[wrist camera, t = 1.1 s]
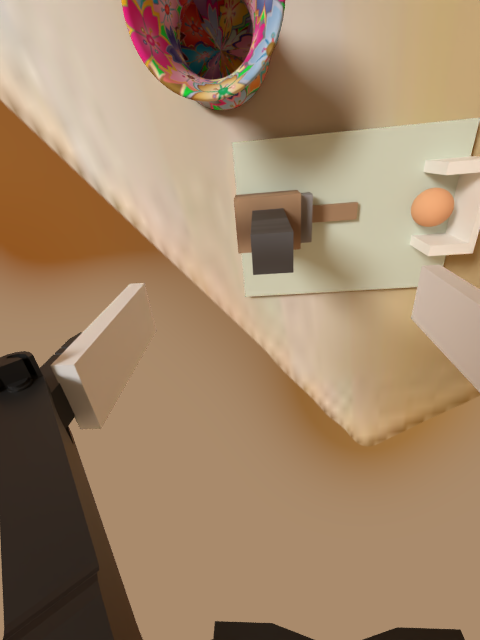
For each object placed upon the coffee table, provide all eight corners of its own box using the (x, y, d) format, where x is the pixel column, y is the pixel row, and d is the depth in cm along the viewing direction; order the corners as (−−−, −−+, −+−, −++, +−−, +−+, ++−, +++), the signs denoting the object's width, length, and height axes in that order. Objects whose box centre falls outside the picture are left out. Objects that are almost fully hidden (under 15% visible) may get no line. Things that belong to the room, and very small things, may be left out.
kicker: (235, 194, 30) (224, 219, 20) (309, 188, 29) (338, 210, 19) (240, 245, 32) (231, 290, 22) (308, 240, 32) (333, 284, 21)
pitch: (232, 142, 30) (231, 142, 28) (473, 118, 28) (484, 116, 26) (245, 293, 37) (245, 298, 36) (433, 282, 35) (441, 287, 34)
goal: (425, 160, 29) (448, 161, 25) (470, 156, 28) (500, 157, 25) (409, 244, 32) (428, 256, 29) (449, 242, 32) (472, 253, 29)
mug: (295, 68, 27) (316, 25, 17) (211, 139, 29) (190, 134, 20) (212, -105, 22) (179, -289, 13) (122, -1, 25) (43, -89, 16)
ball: (463, 189, 26) (454, 184, 29) (416, 191, 27) (412, 186, 30) (452, 230, 28) (445, 222, 31) (409, 230, 29) (406, 222, 32)
